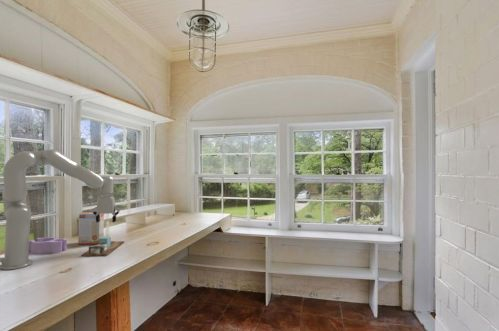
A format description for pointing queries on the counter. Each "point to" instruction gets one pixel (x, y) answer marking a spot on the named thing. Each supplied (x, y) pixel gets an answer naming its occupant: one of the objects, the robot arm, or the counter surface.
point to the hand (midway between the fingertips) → (106, 222)
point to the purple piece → (47, 245)
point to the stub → (105, 241)
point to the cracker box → (90, 228)
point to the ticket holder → (102, 249)
